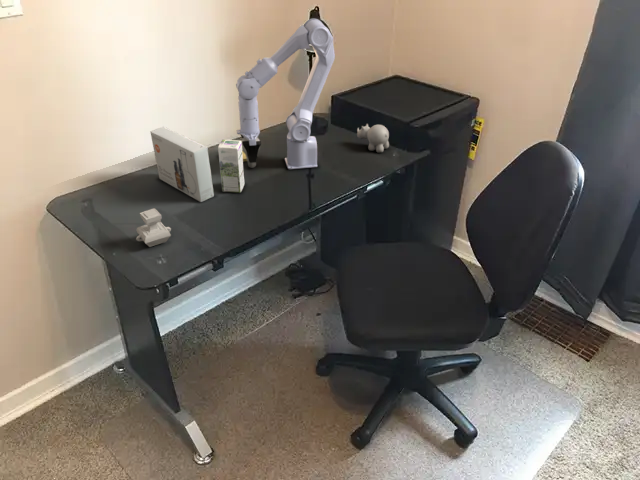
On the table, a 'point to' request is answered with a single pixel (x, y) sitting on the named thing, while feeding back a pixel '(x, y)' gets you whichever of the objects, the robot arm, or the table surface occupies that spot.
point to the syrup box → (231, 165)
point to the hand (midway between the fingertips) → (251, 157)
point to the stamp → (152, 228)
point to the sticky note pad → (244, 157)
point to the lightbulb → (246, 153)
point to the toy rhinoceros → (375, 137)
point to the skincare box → (183, 163)
